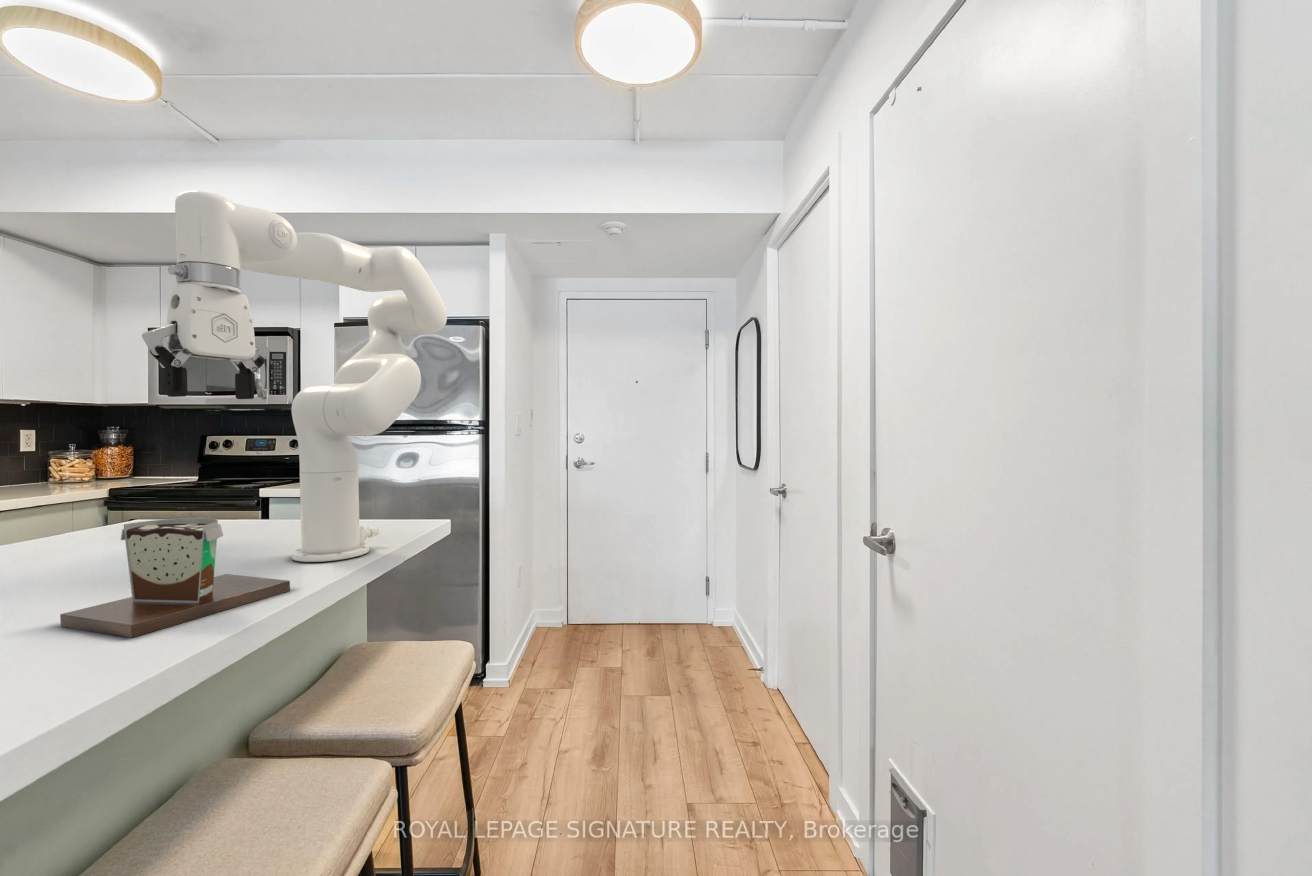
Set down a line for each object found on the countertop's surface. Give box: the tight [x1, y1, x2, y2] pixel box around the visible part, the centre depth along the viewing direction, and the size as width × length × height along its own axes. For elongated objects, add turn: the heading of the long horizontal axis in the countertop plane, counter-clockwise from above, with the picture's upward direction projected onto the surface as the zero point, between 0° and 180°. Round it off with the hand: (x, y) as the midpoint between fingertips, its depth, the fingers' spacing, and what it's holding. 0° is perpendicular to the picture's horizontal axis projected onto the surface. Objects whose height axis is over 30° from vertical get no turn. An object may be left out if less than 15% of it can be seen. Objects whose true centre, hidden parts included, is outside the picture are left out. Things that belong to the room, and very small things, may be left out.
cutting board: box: [59, 573, 291, 638], centre depth 79 cm, size 20×13×2 cm, turn 161°
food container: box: [120, 517, 224, 603], centre depth 79 cm, size 12×6×10 cm, turn 84°
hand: (212, 397), depth 88 cm, fingers open, 9 cm apart
